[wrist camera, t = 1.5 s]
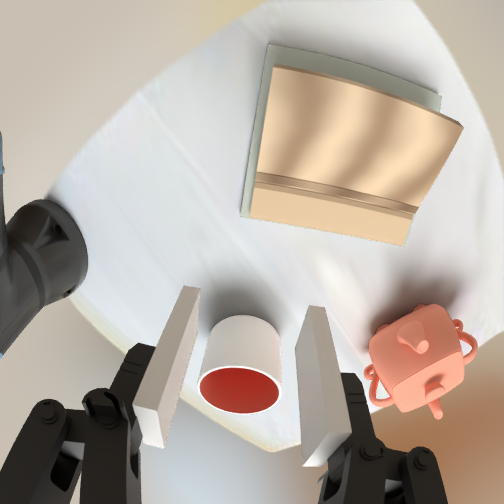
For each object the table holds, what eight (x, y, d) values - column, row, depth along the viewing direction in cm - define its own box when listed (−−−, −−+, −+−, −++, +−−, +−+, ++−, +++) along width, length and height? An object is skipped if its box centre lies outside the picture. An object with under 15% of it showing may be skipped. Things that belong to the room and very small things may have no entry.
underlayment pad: (240, 214, 33) (238, 220, 31) (267, 46, 25) (267, 40, 23) (401, 243, 33) (408, 251, 31) (437, 96, 25) (447, 96, 23)
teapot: (387, 281, 36) (425, 346, 24) (465, 303, 37) (504, 355, 25) (341, 360, 42) (356, 427, 31) (419, 370, 43) (441, 424, 32)
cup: (200, 347, 42) (187, 399, 33) (225, 299, 38) (213, 353, 29) (261, 369, 44) (258, 421, 35) (293, 326, 39) (297, 381, 30)
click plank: (256, 173, 30) (255, 181, 29) (274, 63, 20) (273, 67, 19) (411, 207, 30) (413, 215, 29) (458, 121, 20) (464, 128, 20)
